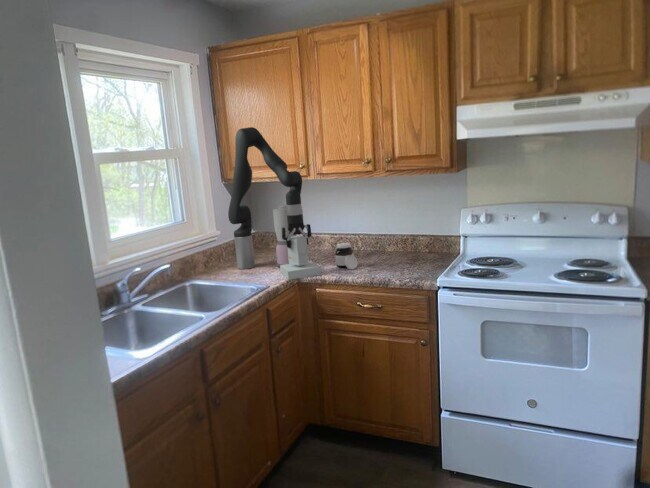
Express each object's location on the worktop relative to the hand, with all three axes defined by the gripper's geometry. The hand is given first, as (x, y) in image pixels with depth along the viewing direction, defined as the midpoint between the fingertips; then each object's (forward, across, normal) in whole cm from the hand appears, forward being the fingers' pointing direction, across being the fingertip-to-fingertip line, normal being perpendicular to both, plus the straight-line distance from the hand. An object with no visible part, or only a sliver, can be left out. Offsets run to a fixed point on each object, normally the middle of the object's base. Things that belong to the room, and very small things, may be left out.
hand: (297, 246), depth 236 cm
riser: (+13, 0, 0) cm, 13 cm away
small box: (+9, 0, 0) cm, 9 cm away
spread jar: (+14, -24, +2) cm, 28 cm away
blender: (+14, -1, -20) cm, 24 cm away
